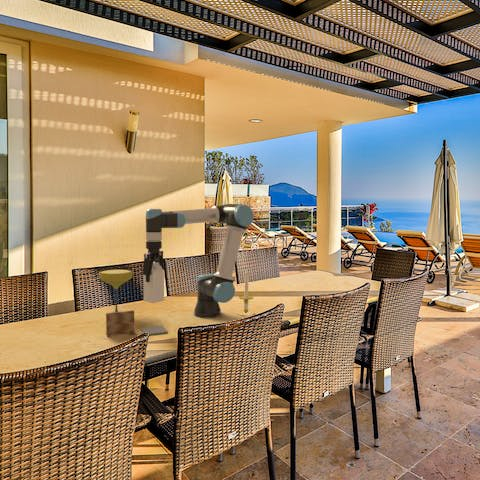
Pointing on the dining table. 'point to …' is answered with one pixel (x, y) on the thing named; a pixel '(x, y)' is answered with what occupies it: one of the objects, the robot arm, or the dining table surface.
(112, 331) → the brown upright block
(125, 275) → the cocktail glass
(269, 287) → the dining table surface
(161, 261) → the robot arm
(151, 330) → the coaster
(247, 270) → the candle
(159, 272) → the milk carton
